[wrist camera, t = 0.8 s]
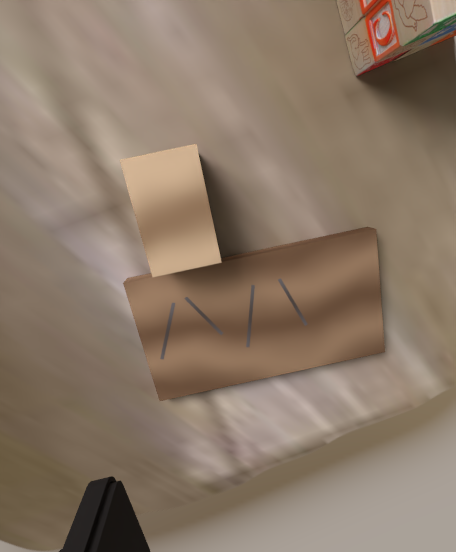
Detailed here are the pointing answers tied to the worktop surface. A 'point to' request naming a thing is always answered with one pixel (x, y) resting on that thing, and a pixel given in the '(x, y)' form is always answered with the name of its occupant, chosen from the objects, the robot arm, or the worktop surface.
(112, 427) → the worktop surface
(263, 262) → the board
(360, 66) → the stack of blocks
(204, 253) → the block
